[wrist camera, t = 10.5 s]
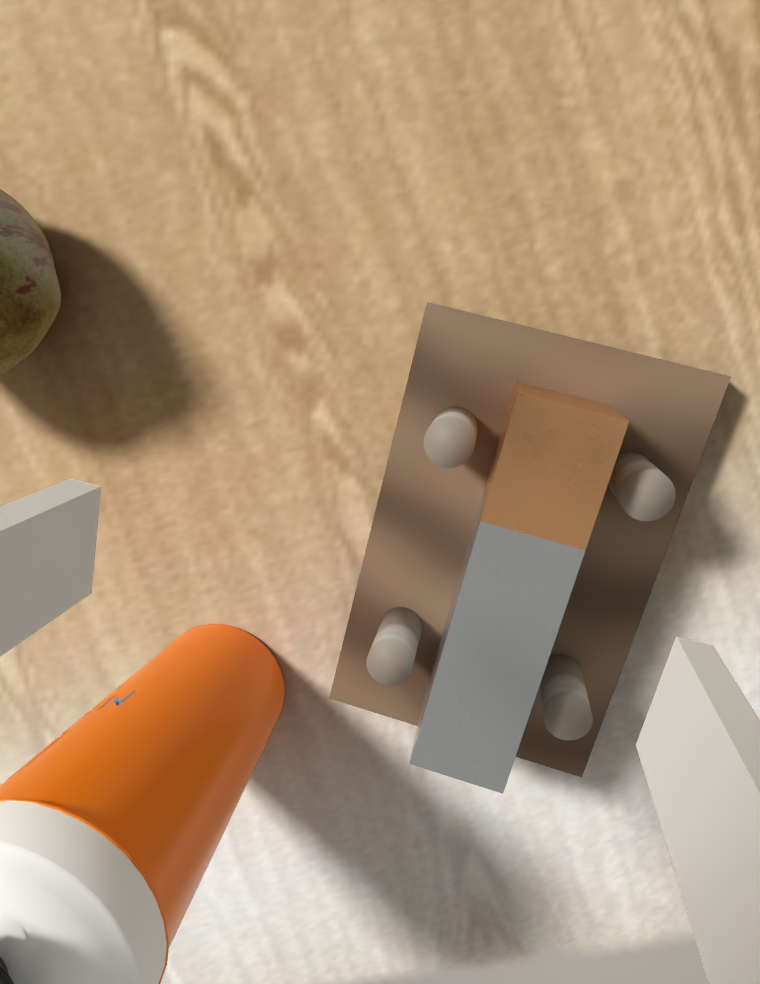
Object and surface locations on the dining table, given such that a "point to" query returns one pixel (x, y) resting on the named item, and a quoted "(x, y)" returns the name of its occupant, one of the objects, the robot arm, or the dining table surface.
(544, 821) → the dining table surface
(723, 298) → the dining table surface
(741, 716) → the robot arm
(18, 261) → the fruit
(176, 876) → the shaker bottle
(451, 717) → the bar
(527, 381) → the peg rack
